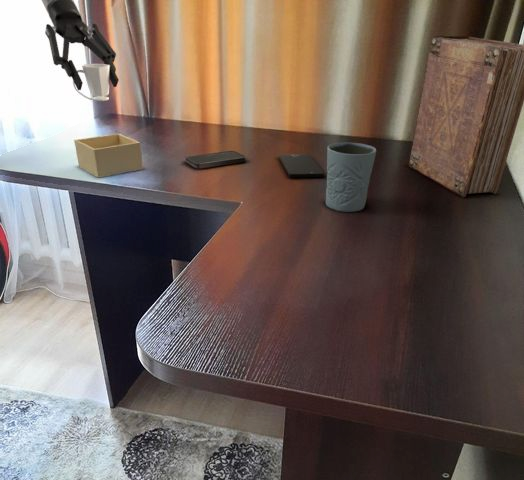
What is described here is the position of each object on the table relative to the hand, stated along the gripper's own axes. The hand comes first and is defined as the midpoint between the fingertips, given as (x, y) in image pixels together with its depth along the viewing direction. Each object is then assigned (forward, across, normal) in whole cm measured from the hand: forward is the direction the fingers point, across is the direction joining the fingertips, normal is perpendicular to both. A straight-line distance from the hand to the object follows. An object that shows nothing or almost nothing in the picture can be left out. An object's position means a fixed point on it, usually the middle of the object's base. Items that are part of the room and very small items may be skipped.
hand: (98, 84), depth 132 cm
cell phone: (+42, -33, +19) cm, 57 cm away
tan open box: (+22, +7, -1) cm, 23 cm away
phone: (+30, -18, +7) cm, 36 cm away
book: (+63, -57, +40) cm, 94 cm away
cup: (+1, 0, -5) cm, 5 cm away
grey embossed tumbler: (+61, -22, +37) cm, 75 cm away
